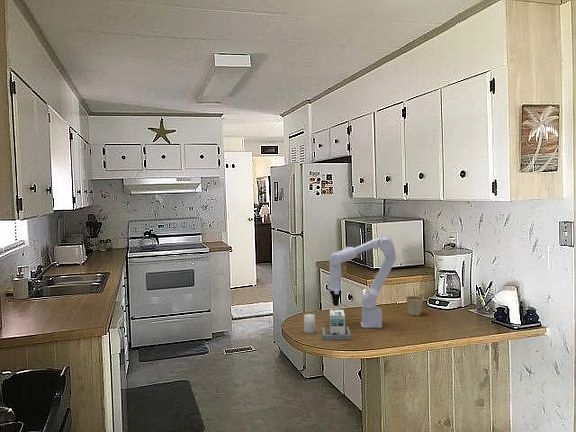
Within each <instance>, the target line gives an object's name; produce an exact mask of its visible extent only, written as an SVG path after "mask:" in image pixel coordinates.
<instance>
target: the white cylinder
mask: <svg viewBox="0 0 576 432" xmlns="http://www.w3.org/2000/svg"><path fill="white" fill-rule="evenodd" d="M303 322H304V325H303V328H304V329H303V332H304V333H305V334H309V335H310V334H312V335H313V334H315V333H316V314H314V313H305V314H304V315H303Z"/></svg>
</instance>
